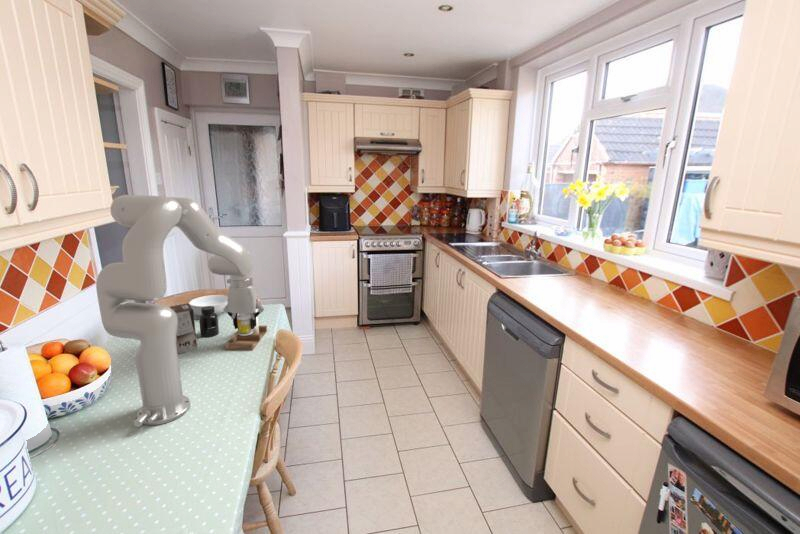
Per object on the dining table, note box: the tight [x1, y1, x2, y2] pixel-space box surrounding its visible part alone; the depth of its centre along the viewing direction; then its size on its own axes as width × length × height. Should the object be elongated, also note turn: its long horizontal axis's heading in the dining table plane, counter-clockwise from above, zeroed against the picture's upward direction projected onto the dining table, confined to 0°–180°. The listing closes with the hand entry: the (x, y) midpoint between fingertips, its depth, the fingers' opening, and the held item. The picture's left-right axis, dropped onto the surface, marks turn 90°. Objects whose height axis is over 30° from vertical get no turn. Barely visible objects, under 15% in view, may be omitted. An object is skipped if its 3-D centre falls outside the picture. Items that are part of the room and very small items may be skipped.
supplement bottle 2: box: [237, 313, 253, 336], centre depth 143 cm, size 5×5×10 cm
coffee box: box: [169, 302, 198, 354], centre depth 140 cm, size 9×6×16 cm
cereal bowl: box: [188, 294, 228, 316], centre depth 174 cm, size 17×17×7 cm
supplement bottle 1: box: [198, 306, 220, 339], centre depth 152 cm, size 7×7×12 cm
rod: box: [252, 309, 260, 334], centre depth 151 cm, size 4×4×11 cm
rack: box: [224, 325, 268, 352], centre depth 149 cm, size 18×10×3 cm, turn 2°
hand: (245, 327), depth 143 cm, fingers closed on supplement bottle 2, 5 cm apart
